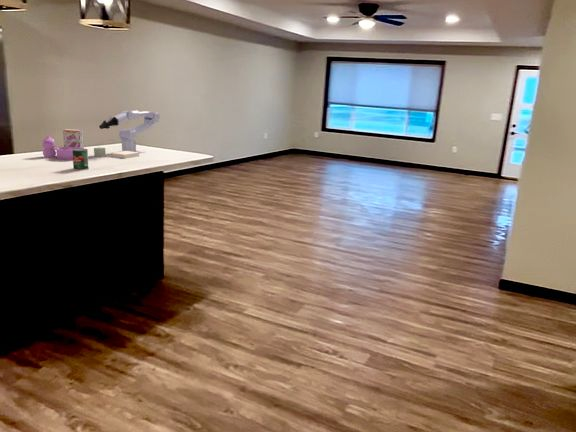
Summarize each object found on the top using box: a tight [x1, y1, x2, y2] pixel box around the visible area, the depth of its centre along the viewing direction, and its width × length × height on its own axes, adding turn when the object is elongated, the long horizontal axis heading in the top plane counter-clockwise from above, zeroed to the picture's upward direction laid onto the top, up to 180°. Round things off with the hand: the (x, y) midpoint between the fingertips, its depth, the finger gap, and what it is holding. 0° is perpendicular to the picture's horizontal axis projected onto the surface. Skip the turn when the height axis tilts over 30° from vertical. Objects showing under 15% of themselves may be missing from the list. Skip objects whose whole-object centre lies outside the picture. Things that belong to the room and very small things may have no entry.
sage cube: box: [93, 147, 107, 157], centre depth 328 cm, size 5×5×5 cm
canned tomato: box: [72, 148, 89, 171], centre depth 279 cm, size 8×8×11 cm
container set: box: [42, 135, 81, 161], centre depth 310 cm, size 25×15×13 cm, turn 84°
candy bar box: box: [62, 128, 85, 149], centre depth 322 cm, size 11×5×16 cm, turn 84°
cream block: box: [109, 150, 140, 159], centre depth 330 cm, size 14×12×3 cm
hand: (103, 126), depth 324 cm, fingers open, 7 cm apart
